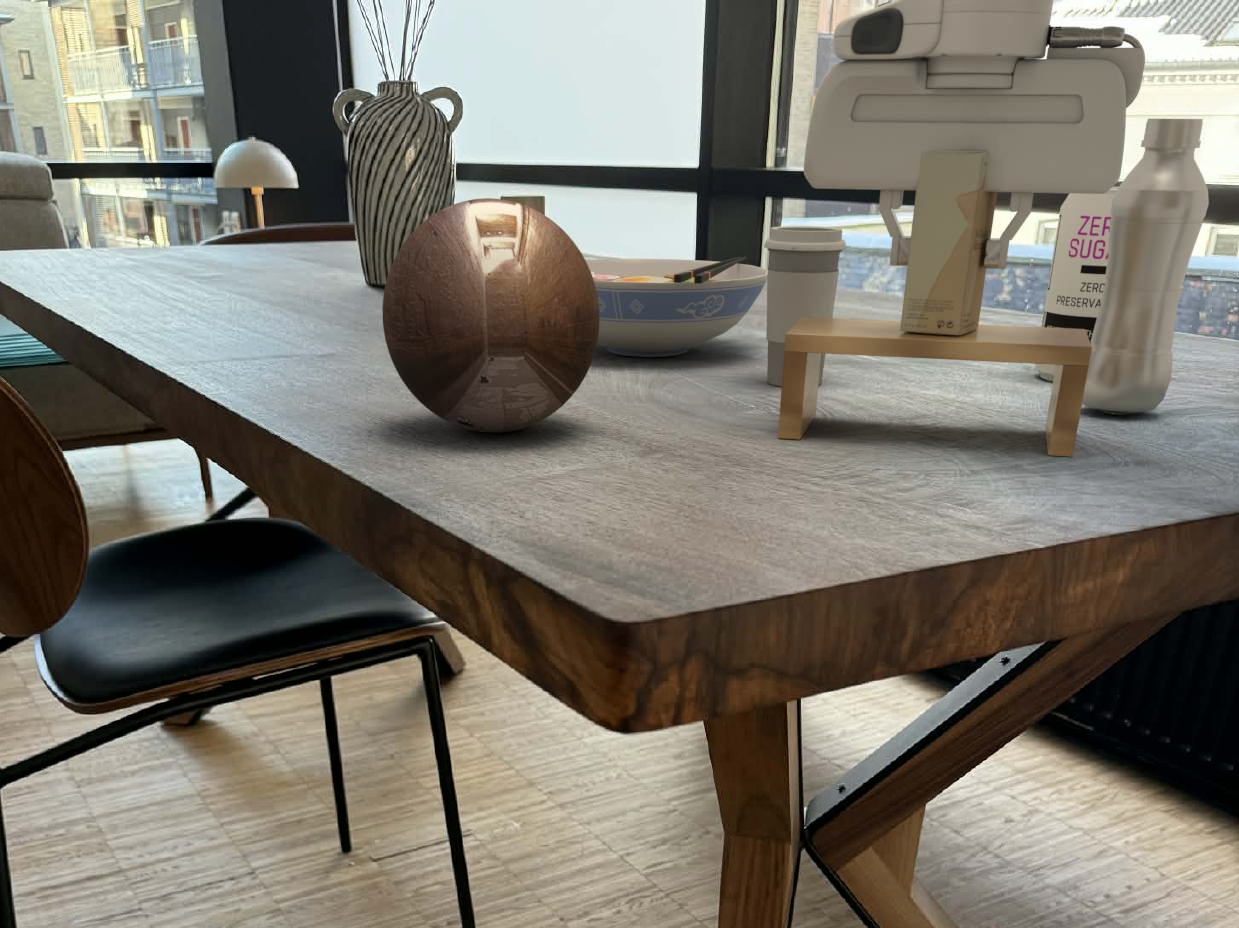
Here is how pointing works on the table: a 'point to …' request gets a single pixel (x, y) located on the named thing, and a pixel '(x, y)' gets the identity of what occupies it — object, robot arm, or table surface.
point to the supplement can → (1078, 266)
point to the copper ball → (491, 315)
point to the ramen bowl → (670, 302)
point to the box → (948, 244)
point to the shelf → (979, 345)
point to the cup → (799, 284)
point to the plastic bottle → (1146, 270)
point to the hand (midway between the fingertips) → (946, 266)
